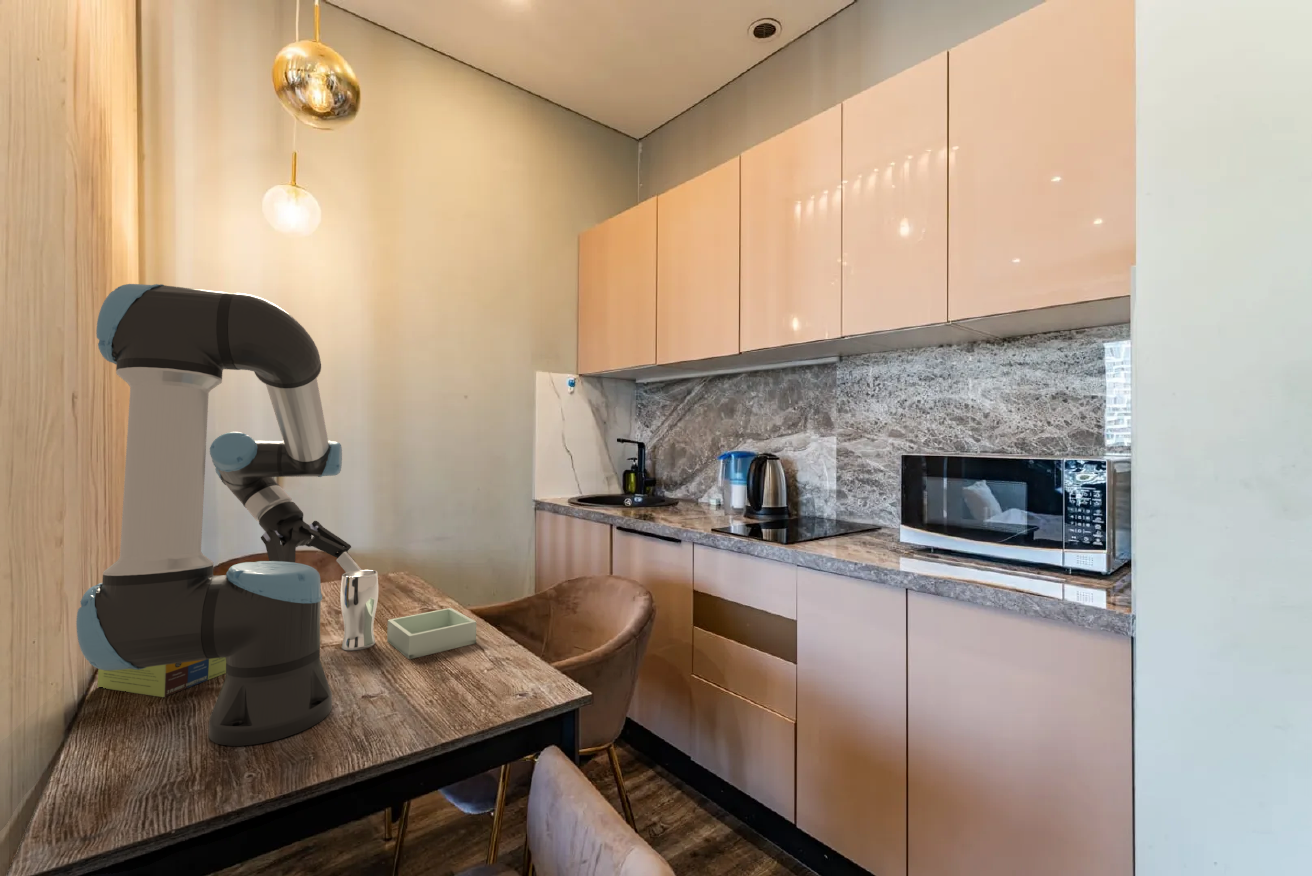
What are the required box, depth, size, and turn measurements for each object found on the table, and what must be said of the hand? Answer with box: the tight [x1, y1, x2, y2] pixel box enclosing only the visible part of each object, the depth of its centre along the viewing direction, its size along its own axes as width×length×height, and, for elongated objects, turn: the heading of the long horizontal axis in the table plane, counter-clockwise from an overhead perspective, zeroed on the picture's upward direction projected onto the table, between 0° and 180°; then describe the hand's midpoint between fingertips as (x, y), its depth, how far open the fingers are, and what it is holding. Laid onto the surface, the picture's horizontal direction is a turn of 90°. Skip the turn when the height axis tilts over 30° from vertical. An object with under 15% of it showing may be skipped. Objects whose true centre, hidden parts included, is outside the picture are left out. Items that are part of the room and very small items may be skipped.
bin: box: [386, 607, 477, 660], centre depth 116 cm, size 14×14×4 cm
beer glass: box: [339, 569, 379, 652], centre depth 114 cm, size 7×7×15 cm
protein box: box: [97, 657, 226, 698], centre depth 96 cm, size 10×15×16 cm
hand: (338, 584), depth 116 cm, fingers open, 13 cm apart
